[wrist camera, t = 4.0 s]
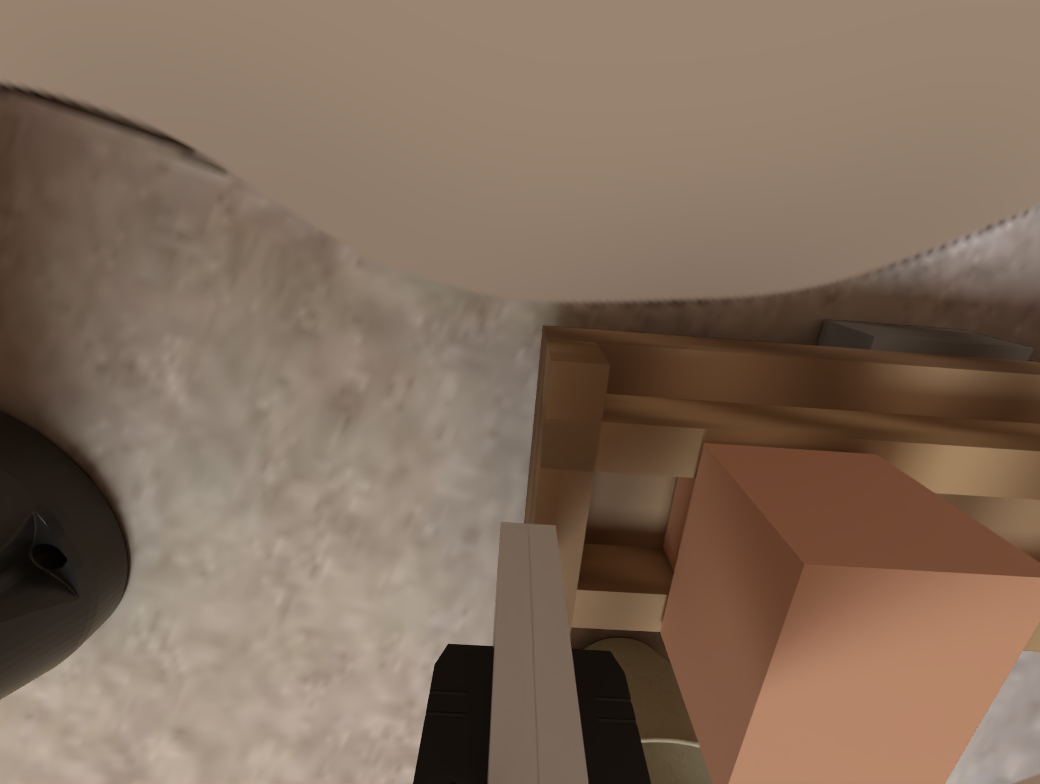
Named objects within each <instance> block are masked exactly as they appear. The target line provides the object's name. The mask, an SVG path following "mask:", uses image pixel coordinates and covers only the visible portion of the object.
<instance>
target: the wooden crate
mask: <svg viewBox="0 0 1040 784" xmlns="http://www.w3.org/2000/svg"><path fill="white" fill-rule="evenodd" d="M1033 349H1034V348H1031V347H1027V346H1024V345H1020V344H1016V343H1012V342H1008V341H1004V340H1000V339H996V338H992V337H988V336H985V335H981V334H977V333H973V332H969V331H965V330H959V329H946V328H933V327H919V326H906V325H893V324H880V323H867V322H854V321H840V320H827V319H824V322H823V326H822V329H821V332H820V336H819V339H818V342H817V346H815V345H801V344H788V343H774V342H761V341H747V340H733V339H720V338H706V337H693V336H679V335H666V334H652V333H639V332H625V331H612V330H598V329H585V328H571V327H557V326H544V325H543V329H542V340H541V350H540V361H539V372H538V382H537V393H536V403H535V414H534V424H533V435H532V446H531V456H530V467H529V477H528V488H527V498H526V509H525V520H524V523H525V524H542V525H556V532H557V540H558V547H559V555H560V563H561V571H562V579H563V587H564V594H565V602H566V610H567V618H568V626H569V634H570V633H571V627H573V628H592V629H611V630H631V631H650V632H660V631H661V626H662V622H663V618H664V613H665V609H666V605H667V600H668V596H669V592H670V588H671V583H672V579H673V575H674V571H673V569H672V566H671V564H670V562H669V560H668V557H667V555H666V553H665V551H664V548H663V543H664V538H665V534H666V529H667V525H668V520H669V515H670V511H671V506H672V502H673V497H674V492H675V488H676V483H677V479H678V477H687V478H696V476H697V471H698V467H699V463H700V458H701V454H702V450H703V446H704V443H713V444H728V445H743V446H758V447H773V448H788V449H804V450H819V451H834V452H849V453H864V454H877V455H878V456H880V457H881V458H883V459H884V460H886V461H887V462H889V463H890V464H892V465H893V466H895V467H896V468H898V469H899V470H901V471H902V472H904V473H905V474H907V475H908V476H910V477H911V478H913V479H914V480H916V481H917V482H919V483H920V484H922V485H923V486H925V487H926V488H928V489H929V490H931V491H932V492H934V493H935V494H937V495H938V496H940V497H941V498H943V499H944V500H946V501H947V502H949V503H951V504H952V505H954V506H955V507H957V508H958V509H960V510H961V511H963V512H964V513H966V514H967V515H969V516H970V517H972V518H973V519H975V520H976V521H978V522H979V523H981V524H982V525H984V526H985V527H987V528H988V529H990V530H991V531H993V532H994V533H996V534H997V535H999V536H1000V537H1002V538H1003V539H1005V540H1006V541H1008V542H1009V543H1011V544H1012V545H1014V546H1015V547H1017V548H1018V549H1020V550H1021V551H1023V552H1024V553H1026V554H1027V555H1029V556H1030V557H1032V558H1033V559H1035V560H1036V561H1038V562H1040V362H1031V361H1028V360H1029V358H1030V355H1031V353H1032V351H1033ZM1023 651H1036V652H1040V622H1039V623H1038V625H1037V627H1036V629H1035V630H1034V632H1033V634H1032V635H1031V637H1030V639H1029V641H1028V642H1027V644H1026V646H1025V647H1024V649H1023Z"/></svg>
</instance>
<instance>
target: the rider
mask: <svg viewBox="0 0 1040 784" xmlns="http://www.w3.org/2000/svg"><path fill="white" fill-rule="evenodd" d="M663 548H664V551H665V553H666V555H667V557H668V560H669V562H670V564H671V566H672V569H673V571H674V575H673V579H672V583H671V588H670V592H669V596H668V600H667V605H666V609H665V613H664V618H663V622H662V626H661V631H660V633H661V636H662V639H663V642H664V645H665V648H666V651H667V654H668V657H669V659H670V662H671V665H672V668H673V671H674V674H675V677H676V680H677V682H678V685H679V688H680V691H681V694H682V697H683V700H684V703H685V706H686V708H687V711H688V714H689V717H690V720H691V723H692V726H693V729H694V731H695V734H696V737H697V740H698V743H699V746H700V749H701V752H702V755H703V757H704V760H705V763H706V766H707V769H708V772H709V775H710V778H711V780H712V783H713V784H945V783H946V781H947V779H948V777H949V776H950V774H951V772H952V771H953V769H954V767H955V765H956V764H957V762H958V760H959V759H960V757H961V755H962V753H963V752H964V750H965V748H966V747H967V745H968V743H969V741H970V740H971V738H972V736H973V735H974V733H975V731H976V729H977V728H978V726H979V724H980V723H981V721H982V719H983V718H984V716H985V714H986V712H987V711H988V709H989V707H990V706H991V704H992V702H993V700H994V699H995V697H996V695H997V694H998V692H999V690H1000V688H1001V687H1002V685H1003V683H1004V682H1005V680H1006V678H1007V676H1008V675H1009V673H1010V671H1011V670H1012V668H1013V666H1014V664H1015V663H1016V661H1017V659H1018V658H1019V656H1020V654H1021V652H1022V651H1023V649H1024V647H1025V646H1026V644H1027V642H1028V641H1029V639H1030V637H1031V635H1032V634H1033V632H1034V630H1035V629H1036V627H1037V625H1038V623H1039V622H1040V562H1038V561H1036V560H1035V559H1033V558H1032V557H1030V556H1029V555H1027V554H1026V553H1024V552H1023V551H1021V550H1020V549H1018V548H1017V547H1015V546H1014V545H1012V544H1011V543H1009V542H1008V541H1006V540H1005V539H1003V538H1002V537H1000V536H999V535H997V534H996V533H994V532H993V531H991V530H990V529H988V528H987V527H985V526H984V525H982V524H981V523H979V522H978V521H976V520H975V519H973V518H972V517H970V516H969V515H967V514H966V513H964V512H963V511H961V510H960V509H958V508H957V507H955V506H954V505H952V504H951V503H949V502H947V501H946V500H944V499H943V498H941V497H940V496H938V495H937V494H935V493H934V492H932V491H931V490H929V489H928V488H926V487H925V486H923V485H922V484H920V483H919V482H917V481H916V480H914V479H913V478H911V477H910V476H908V475H907V474H905V473H904V472H902V471H901V470H899V469H898V468H896V467H895V466H893V465H892V464H890V463H889V462H887V461H886V460H884V459H883V458H881V457H880V456H878V455H877V454H864V453H849V452H834V451H819V450H804V449H788V448H773V447H758V446H743V445H728V444H713V443H704V446H703V450H702V454H701V458H700V463H699V467H698V471H697V476H696V478H687V477H678V479H677V483H676V488H675V492H674V497H673V502H672V506H671V511H670V515H669V520H668V525H667V529H666V534H665V538H664V543H663Z"/></svg>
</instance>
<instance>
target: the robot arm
mask: <svg viewBox="0 0 1040 784" xmlns="http://www.w3.org/2000/svg"><path fill="white" fill-rule="evenodd" d="M126 580H127V554H126V548H125V544H124V540H123V536H122V533H121V531H120V528H119V525H118V523H117V521H116V519H115V517H114V514H113V513H112V511H111V509H110V507H109V505H108V504H107V502H106V501H105V499H104V498H103V496H102V495H101V493H100V492H99V491H98V489H97V488H96V487H95V485H94V484H93V483H92V482H91V480H90V479H89V478H88V477H87V476H86V475H85V474H84V472H83V471H82V470H81V469H80V468H79V467H78V466H77V465H76V464H75V463H74V462H73V461H72V460H71V459H69V458H68V457H67V456H66V455H65V454H64V453H63V452H61V451H60V450H59V449H58V448H57V447H55V446H54V445H53V444H51V443H50V442H49V441H48V440H46V439H45V438H43V437H42V436H40V435H39V434H38V433H36V432H35V431H33V430H31V429H30V428H28V427H27V426H25V425H23V424H22V423H20V422H18V421H16V420H14V419H12V418H11V417H9V416H7V415H5V414H3V413H0V699H2V698H4V697H5V696H7V695H9V694H11V693H12V692H14V691H16V690H17V689H19V688H21V687H22V686H24V685H26V684H27V683H29V682H31V681H32V680H34V679H36V678H38V677H39V676H41V675H43V674H44V673H46V672H48V671H49V670H51V669H53V668H54V667H56V666H57V665H58V664H60V663H61V662H62V661H64V660H65V659H66V658H68V657H69V656H70V655H71V654H72V653H74V652H75V651H76V650H77V649H78V648H79V647H80V646H81V645H82V644H83V643H84V642H85V641H86V640H87V639H88V638H89V637H90V636H91V635H92V634H93V633H94V632H95V631H96V630H97V629H98V628H99V627H100V626H101V625H102V624H103V623H104V622H105V621H106V620H107V619H108V618H109V617H110V616H111V614H112V613H113V612H114V610H115V609H116V607H117V605H118V604H119V602H120V600H121V597H122V595H123V592H124V589H125V585H126ZM413 784H651V780H650V776H649V772H648V768H647V764H646V759H645V755H644V751H643V747H642V743H641V738H640V734H639V730H638V726H637V724H636V717H635V713H634V709H633V705H632V703H631V696H630V692H629V688H628V684H627V679H626V675H625V672H624V671H623V669H622V668H621V666H620V665H619V663H618V662H617V660H616V659H615V657H614V656H613V654H612V653H611V651H602V650H583V649H571V642H570V634H569V626H568V618H567V610H566V602H565V594H564V587H563V579H562V571H561V563H560V555H559V547H558V540H557V532H556V525H542V524H525V523H509V522H501V529H500V542H499V556H498V569H497V582H496V595H495V612H494V630H493V646H479V645H459V644H448V645H447V646H446V648H445V650H444V651H443V653H442V654H441V656H440V657H439V659H438V660H437V662H436V663H435V666H434V671H433V677H432V682H431V688H430V695H429V699H428V704H427V710H426V716H425V721H424V726H423V732H422V737H421V743H420V748H419V754H418V759H417V765H416V770H415V776H414V781H413Z"/></svg>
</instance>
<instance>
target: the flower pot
mask: <svg viewBox="0 0 1040 784" xmlns="http://www.w3.org/2000/svg"><path fill="white" fill-rule="evenodd" d="M583 650H602V651H611V653H612V654H613V656H614V657H615V659H616V660H617V662H618V663H619V665H620V666H621V668H622V669H623V671H624V672H625V675H626V679H627V684H628V688H629V692H630V696H631V703H632V705H633V709H634V713H635V717H636V724H637V726H638V730H639V734H640V738H641V743H642V747H643V751H644V755H645V759H646V764H647V768H648V772H649V776H650V780H651V784H713V783H712V780H711V778H710V775H709V772H708V769H707V766H706V763H705V760H704V757H703V755H702V752H701V749H700V746H699V743H698V740H697V737H696V734H695V731H694V729H693V726H692V723H691V720H690V717H689V714H688V711H687V708H686V706H685V703H684V700H683V697H682V694H681V691H680V688H679V685H678V682H677V680H676V677H675V674H674V671H673V668H672V665H671V663H670V662H669V661H668V660H667V659H665V658H664V657H663V656H662V655H660V654H659V653H658V652H656V651H655V650H654V649H652V648H651V647H649V646H648V645H646V644H644V643H642V642H640V641H637V640H634V639H629V638H608V639H603V640H600V641H597V642H595V643H593V644H591V645H589V646H587V647H586V648H585V649H583Z"/></svg>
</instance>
